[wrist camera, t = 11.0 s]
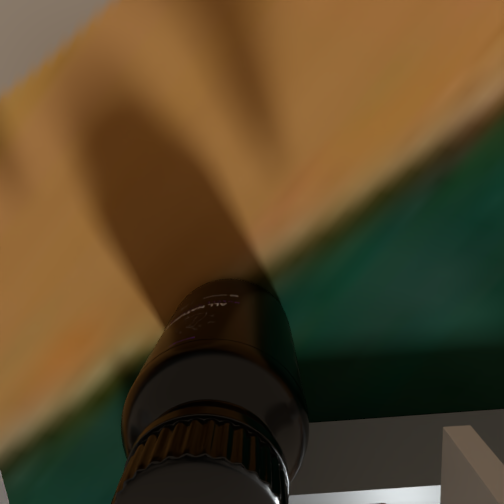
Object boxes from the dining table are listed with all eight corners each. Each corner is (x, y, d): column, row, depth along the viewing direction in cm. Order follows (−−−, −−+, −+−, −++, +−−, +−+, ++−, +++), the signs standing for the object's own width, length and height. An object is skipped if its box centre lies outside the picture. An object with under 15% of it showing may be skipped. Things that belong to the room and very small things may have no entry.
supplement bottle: (208, 253, 20) (146, 364, 8) (311, 313, 21) (389, 493, 9) (151, 350, 21) (25, 568, 9) (250, 403, 22) (248, 667, 10)
